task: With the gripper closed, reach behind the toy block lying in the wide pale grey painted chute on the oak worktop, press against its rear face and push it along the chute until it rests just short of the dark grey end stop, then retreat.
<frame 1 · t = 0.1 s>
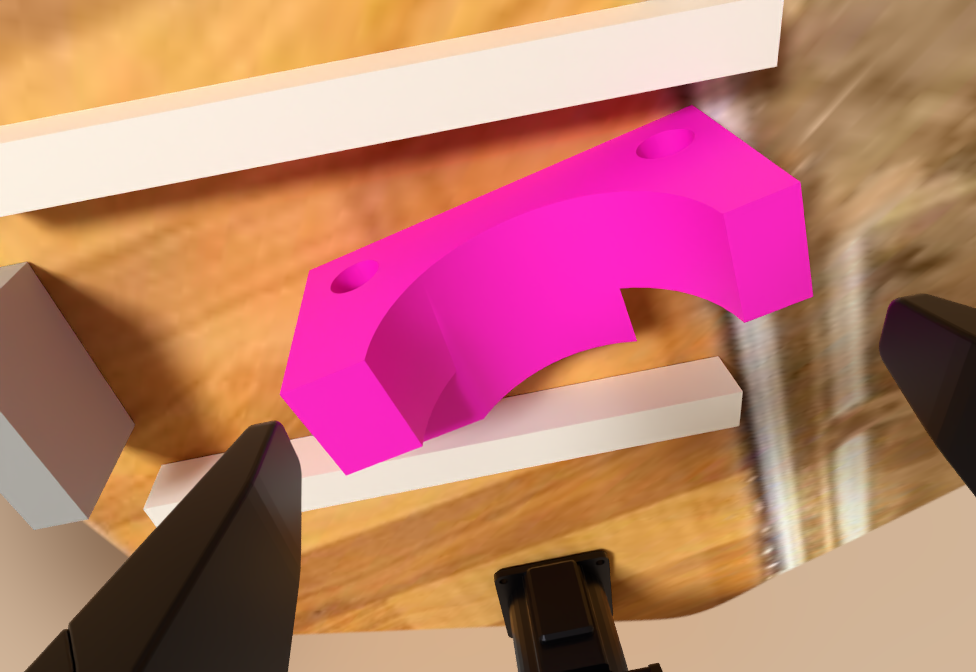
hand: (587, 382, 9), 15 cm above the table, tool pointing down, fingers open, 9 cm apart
chute: (426, 284, 25), on the table
toy block: (520, 255, 25), on the table
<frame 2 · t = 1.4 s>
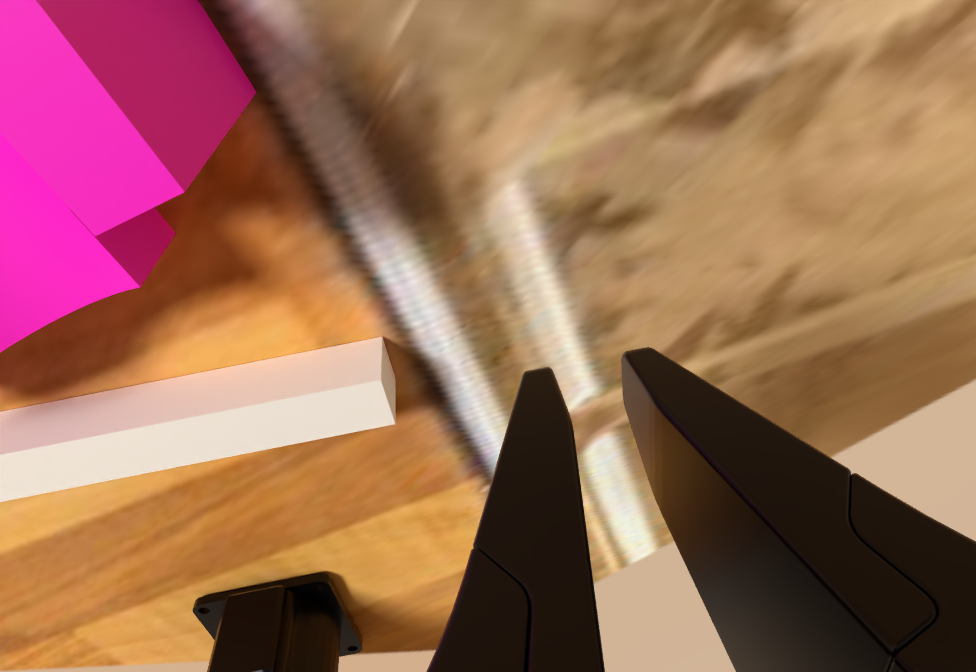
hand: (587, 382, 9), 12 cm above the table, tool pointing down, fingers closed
toy block: (28, 180, 19), on the table
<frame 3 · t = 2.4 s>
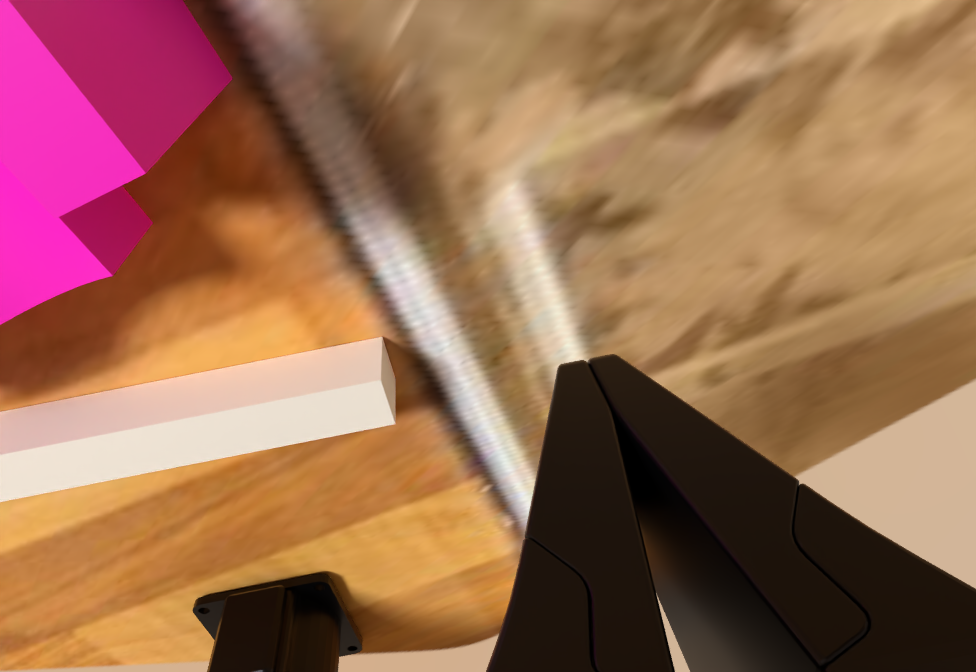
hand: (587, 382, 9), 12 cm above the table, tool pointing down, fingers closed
toy block: (2, 167, 18), on the table
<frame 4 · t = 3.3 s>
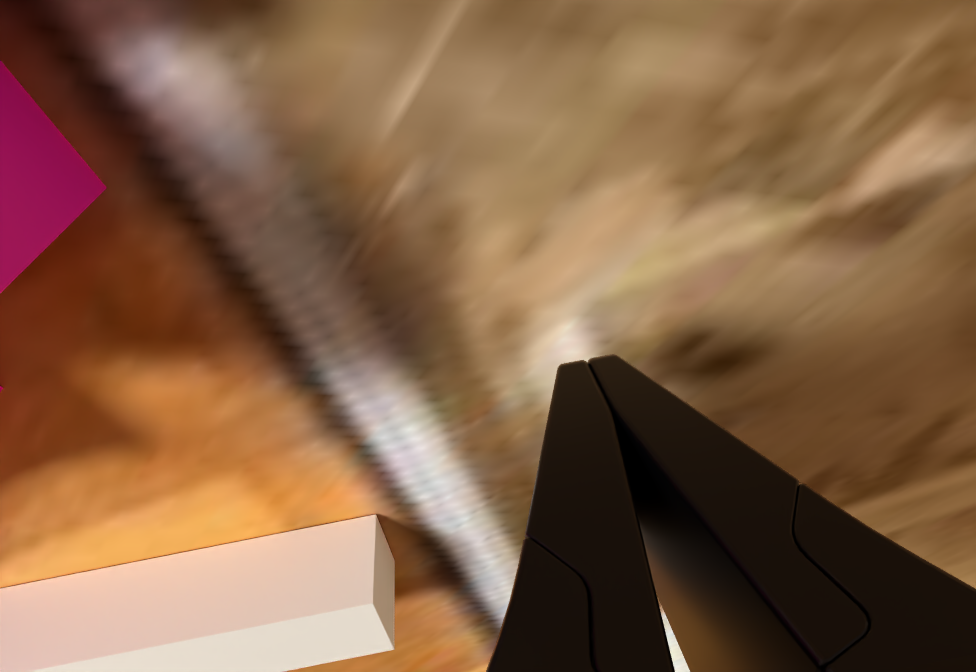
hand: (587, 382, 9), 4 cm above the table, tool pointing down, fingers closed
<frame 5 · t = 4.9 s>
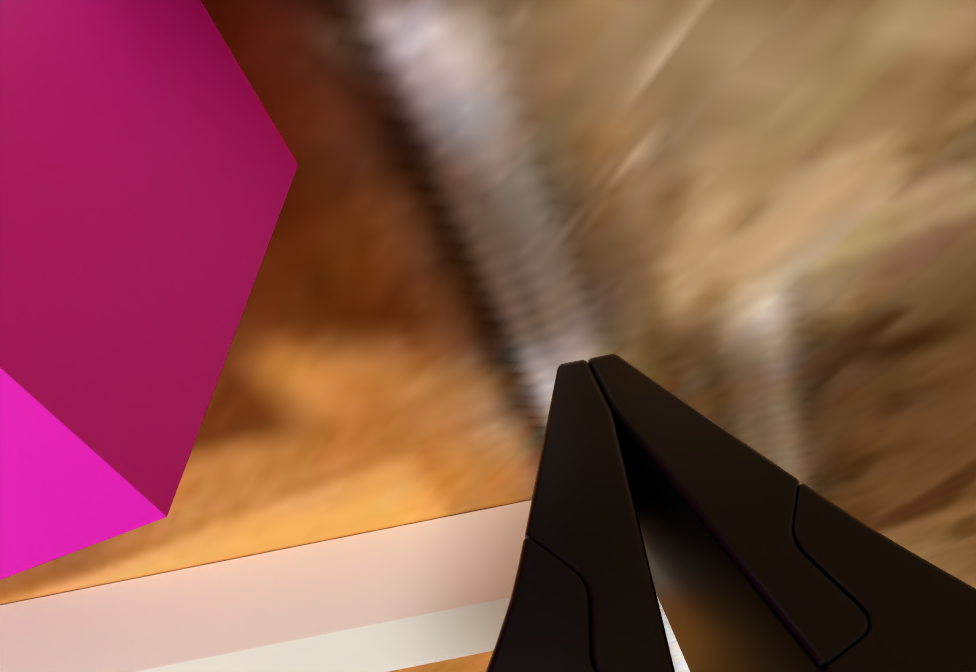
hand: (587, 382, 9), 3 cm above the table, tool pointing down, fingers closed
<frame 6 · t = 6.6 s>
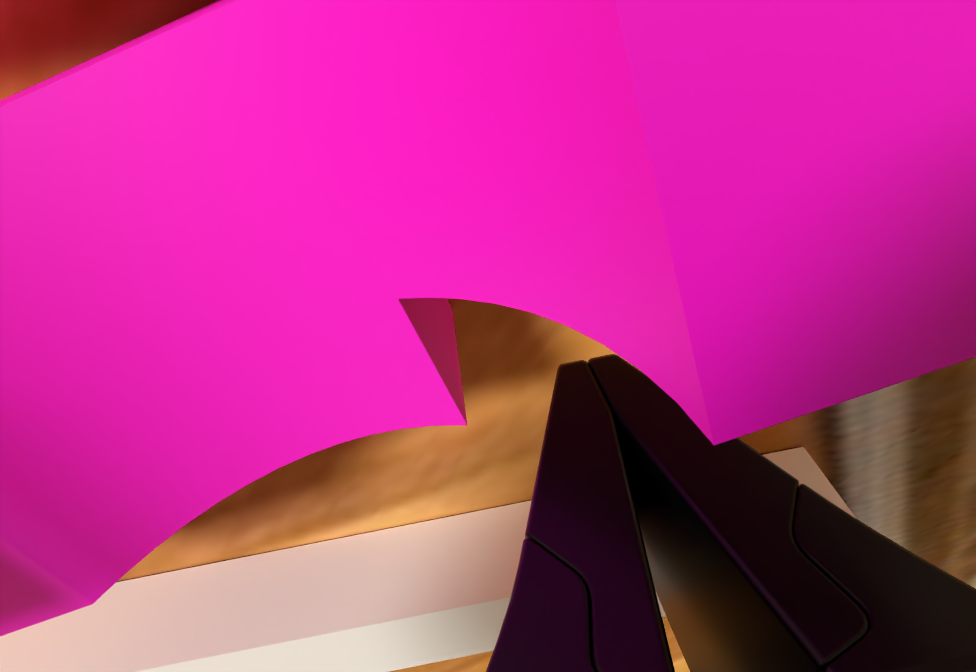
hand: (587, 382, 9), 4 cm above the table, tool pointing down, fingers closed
chute: (233, 329, 12), on the table
toy block: (239, 219, 11), on the table
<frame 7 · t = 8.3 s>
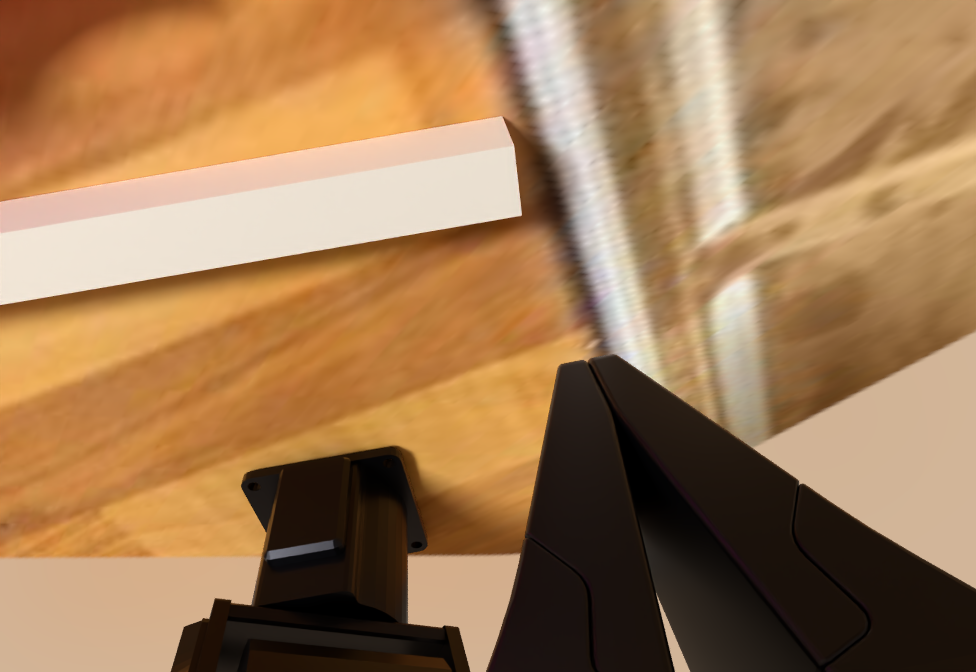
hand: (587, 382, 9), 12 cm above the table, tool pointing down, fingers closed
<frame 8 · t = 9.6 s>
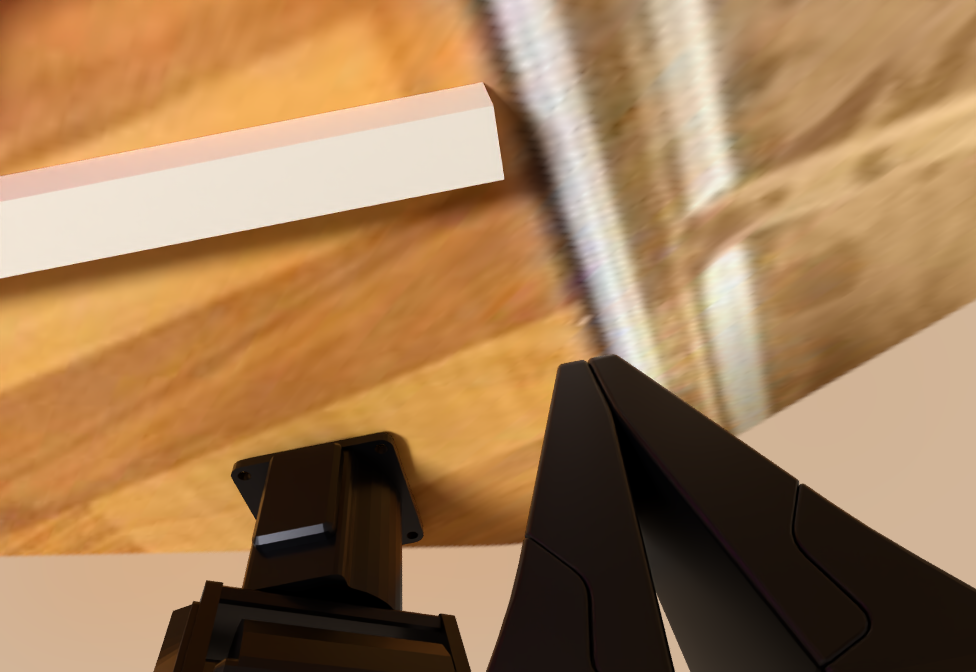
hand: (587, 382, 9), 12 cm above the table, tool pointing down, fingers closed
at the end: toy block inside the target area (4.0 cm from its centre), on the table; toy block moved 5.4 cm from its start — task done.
